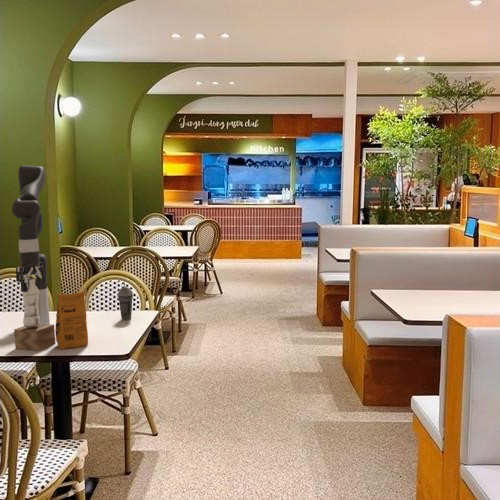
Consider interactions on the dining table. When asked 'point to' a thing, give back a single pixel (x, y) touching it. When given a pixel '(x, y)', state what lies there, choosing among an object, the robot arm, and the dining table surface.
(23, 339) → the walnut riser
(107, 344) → the dining table surface
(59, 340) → the coffee package
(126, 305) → the beverage cup
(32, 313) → the plastic bottle
